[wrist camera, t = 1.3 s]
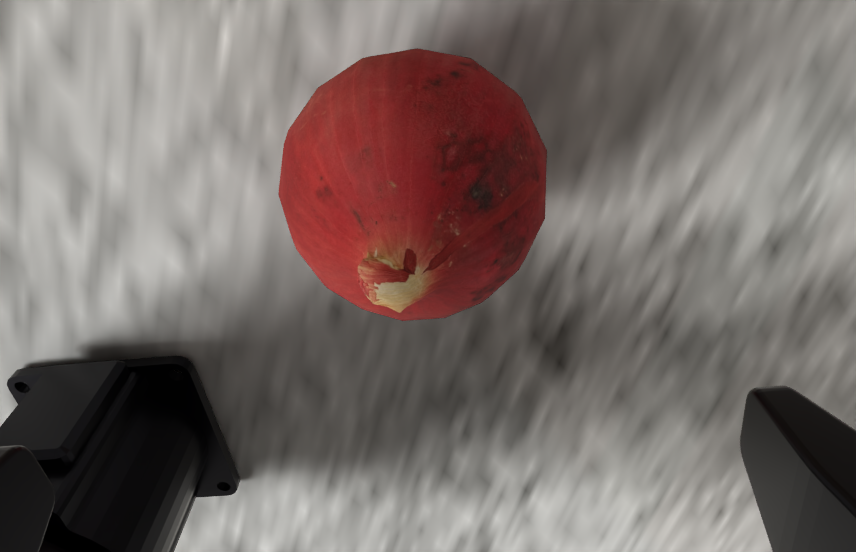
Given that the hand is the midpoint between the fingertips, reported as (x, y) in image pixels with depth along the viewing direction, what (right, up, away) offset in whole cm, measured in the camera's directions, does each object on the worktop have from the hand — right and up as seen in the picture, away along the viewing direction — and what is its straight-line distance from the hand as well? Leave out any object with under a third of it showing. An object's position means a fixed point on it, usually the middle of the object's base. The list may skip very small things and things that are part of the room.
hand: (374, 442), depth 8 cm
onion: (+1, +6, +10) cm, 12 cm away
